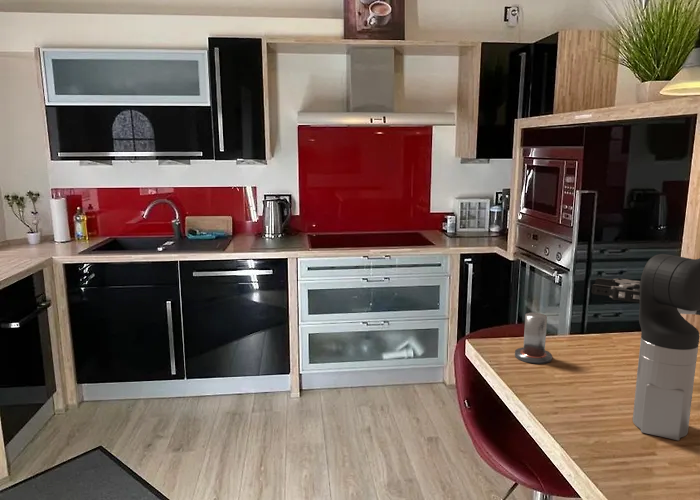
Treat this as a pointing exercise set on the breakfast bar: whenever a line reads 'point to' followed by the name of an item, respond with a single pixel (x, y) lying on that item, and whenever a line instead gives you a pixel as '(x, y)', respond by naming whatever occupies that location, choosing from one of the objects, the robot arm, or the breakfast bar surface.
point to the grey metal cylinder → (535, 334)
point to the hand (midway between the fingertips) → (593, 285)
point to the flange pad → (531, 359)
